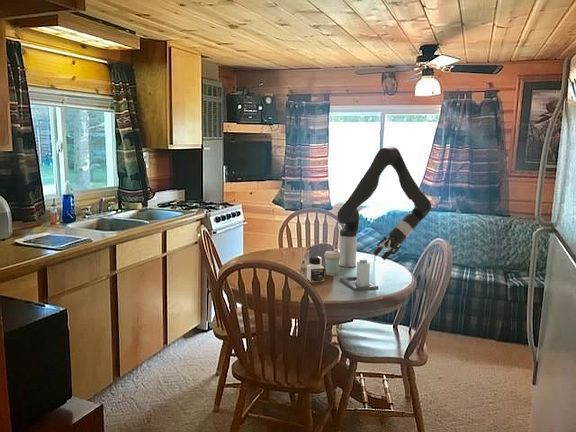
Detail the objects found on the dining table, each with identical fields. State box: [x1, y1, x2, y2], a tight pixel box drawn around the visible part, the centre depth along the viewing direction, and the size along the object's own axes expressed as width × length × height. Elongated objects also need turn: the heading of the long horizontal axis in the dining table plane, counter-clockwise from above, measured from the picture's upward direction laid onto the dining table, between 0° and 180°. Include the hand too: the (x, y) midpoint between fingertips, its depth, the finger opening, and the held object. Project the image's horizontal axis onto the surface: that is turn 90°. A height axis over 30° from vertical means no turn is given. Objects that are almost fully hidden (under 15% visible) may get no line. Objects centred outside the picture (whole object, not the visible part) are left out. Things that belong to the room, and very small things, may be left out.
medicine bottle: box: [306, 255, 325, 283], centre depth 241 cm, size 7×7×12 cm
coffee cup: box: [323, 250, 340, 277], centre depth 251 cm, size 9×8×12 cm
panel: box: [339, 275, 379, 292], centre depth 234 cm, size 18×12×2 cm, turn 18°
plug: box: [356, 259, 371, 287], centre depth 229 cm, size 4×4×13 cm
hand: (378, 256), depth 230 cm, fingers open, 8 cm apart
